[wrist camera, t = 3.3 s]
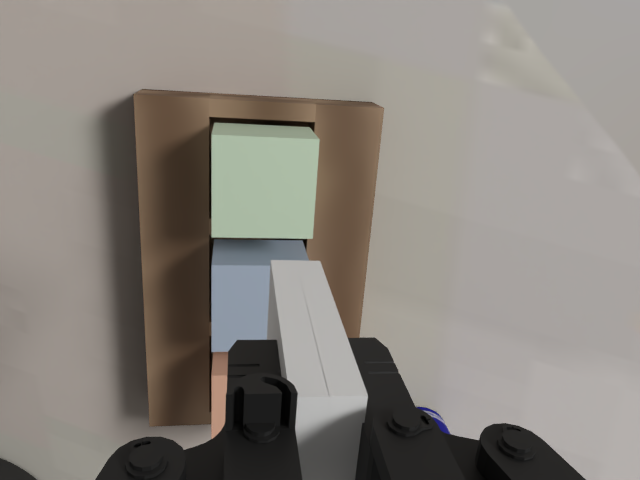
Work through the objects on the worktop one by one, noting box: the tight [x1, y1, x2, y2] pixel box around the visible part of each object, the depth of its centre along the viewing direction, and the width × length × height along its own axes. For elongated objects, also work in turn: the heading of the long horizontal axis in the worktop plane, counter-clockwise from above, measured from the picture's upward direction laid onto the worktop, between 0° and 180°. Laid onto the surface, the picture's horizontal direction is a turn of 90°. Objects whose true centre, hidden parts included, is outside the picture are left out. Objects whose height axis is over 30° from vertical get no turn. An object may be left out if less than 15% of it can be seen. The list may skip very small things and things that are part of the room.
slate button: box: [212, 239, 309, 352], centre depth 32 cm, size 5×5×4 cm
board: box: [133, 89, 384, 426], centre depth 35 cm, size 14×22×3 cm, turn 176°
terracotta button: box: [212, 352, 228, 439], centre depth 35 cm, size 5×5×4 cm
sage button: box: [212, 123, 320, 239], centre depth 30 cm, size 5×5×4 cm
